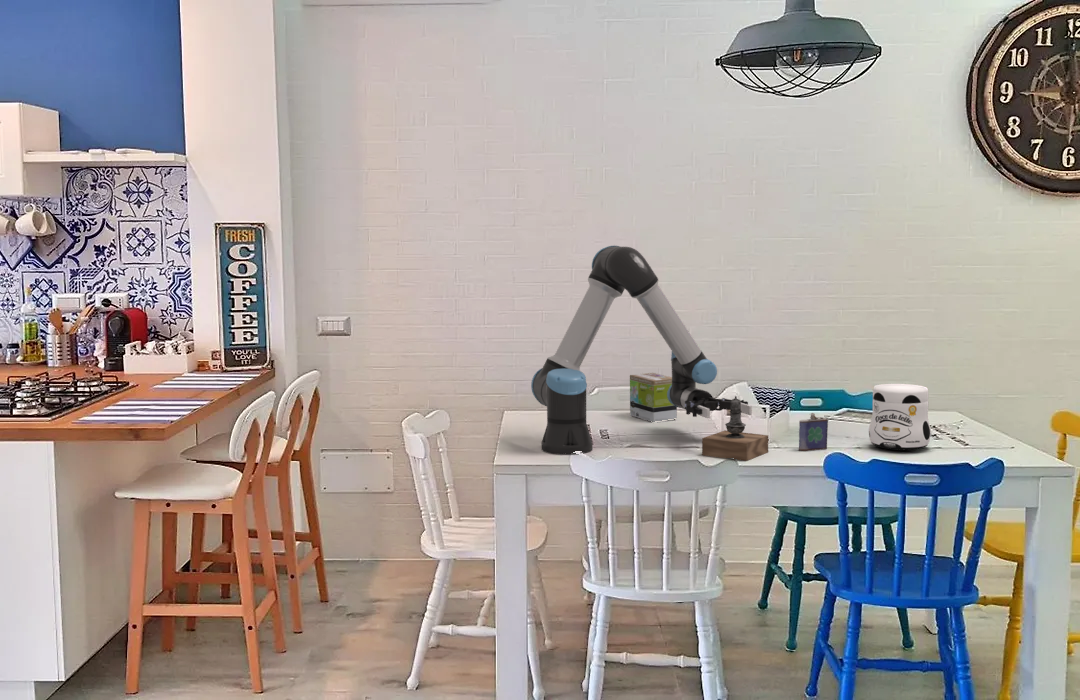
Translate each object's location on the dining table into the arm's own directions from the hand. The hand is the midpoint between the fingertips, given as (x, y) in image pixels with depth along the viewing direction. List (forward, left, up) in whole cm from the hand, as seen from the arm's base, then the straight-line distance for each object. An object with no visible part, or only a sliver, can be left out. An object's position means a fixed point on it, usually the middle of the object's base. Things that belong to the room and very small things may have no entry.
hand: (729, 412), depth 322 cm
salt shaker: (-2, -3, -7) cm, 8 cm away
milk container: (+32, -39, -12) cm, 52 cm away
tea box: (+34, +46, -12) cm, 59 cm away
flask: (+16, -19, -12) cm, 27 cm away
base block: (-2, -3, -12) cm, 12 cm away
